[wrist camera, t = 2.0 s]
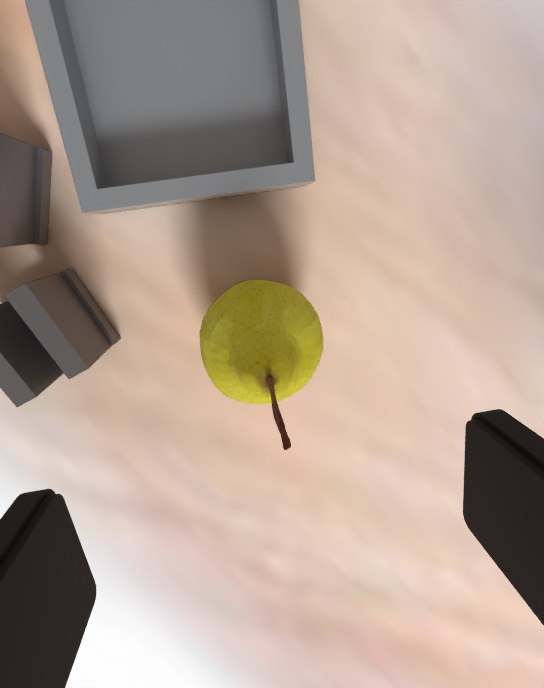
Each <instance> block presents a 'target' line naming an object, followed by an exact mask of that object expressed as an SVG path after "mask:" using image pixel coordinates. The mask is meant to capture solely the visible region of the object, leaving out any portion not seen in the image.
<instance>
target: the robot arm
mask: <svg viewBox="0 0 544 688" xmlns="http://www.w3.org/2000/svg"><path fill="white" fill-rule="evenodd" d="M463 515H464V519H465V522H466V524H467V526H468V528H469V529H470V531H471V532H472V533H473V535H474V536H475V537H476V538H477V540H478V541H479V542H480V544H481V545H482V546H483V548H484V549H485V550H486V551H487V553H488V554H489V555H490V557H491V558H492V559H493V560H494V562H495V563H496V564H497V566H498V567H499V568H500V570H501V571H502V572H503V573H504V575H505V576H506V577H507V579H508V580H509V581H510V582H511V584H512V585H513V586H514V588H515V589H516V590H517V592H518V593H519V594H520V595H521V597H522V598H523V599H524V601H525V602H526V603H527V604H528V606H529V607H530V608H531V610H532V611H533V612H534V614H535V615H536V616H537V617H538V619H539V620H540V621H541V623H542V624H543V625H544V439H543V438H542V437H541V436H539V435H538V434H536V433H535V432H533V431H532V430H531V429H529V428H528V427H526V426H525V425H523V424H522V423H521V422H519V421H518V420H516V419H515V418H513V417H512V416H511V415H509V414H508V413H506V412H505V411H503V410H501V409H497V410H491V411H485V412H480V413H475V414H474V415H473V416H472V419H471V421H468V422H467V424H466V436H465V467H464V498H463ZM95 599H96V584H95V581H94V578H93V575H92V573H91V570H90V567H89V565H88V562H87V559H86V557H85V554H84V551H83V549H82V546H81V543H80V541H79V538H78V535H77V533H76V530H75V527H74V524H73V522H72V519H71V516H70V514H69V511H68V508H67V506H66V503H65V500H64V498H63V496H62V495H61V494H55V492H54V491H53V490H52V489H45V490H39V491H33V492H28V493H23V494H20V495H19V496H18V497H17V498H16V500H15V501H14V502H13V503H12V505H11V506H10V507H9V509H8V510H7V511H6V513H5V514H4V515H3V517H2V518H1V519H0V688H65V686H66V683H67V680H68V678H69V675H70V672H71V669H72V666H73V663H74V660H75V657H76V655H77V652H78V649H79V646H80V643H81V640H82V637H83V634H84V632H85V629H86V626H87V623H88V620H89V617H90V614H91V611H92V609H93V606H94V603H95Z"/></svg>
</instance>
